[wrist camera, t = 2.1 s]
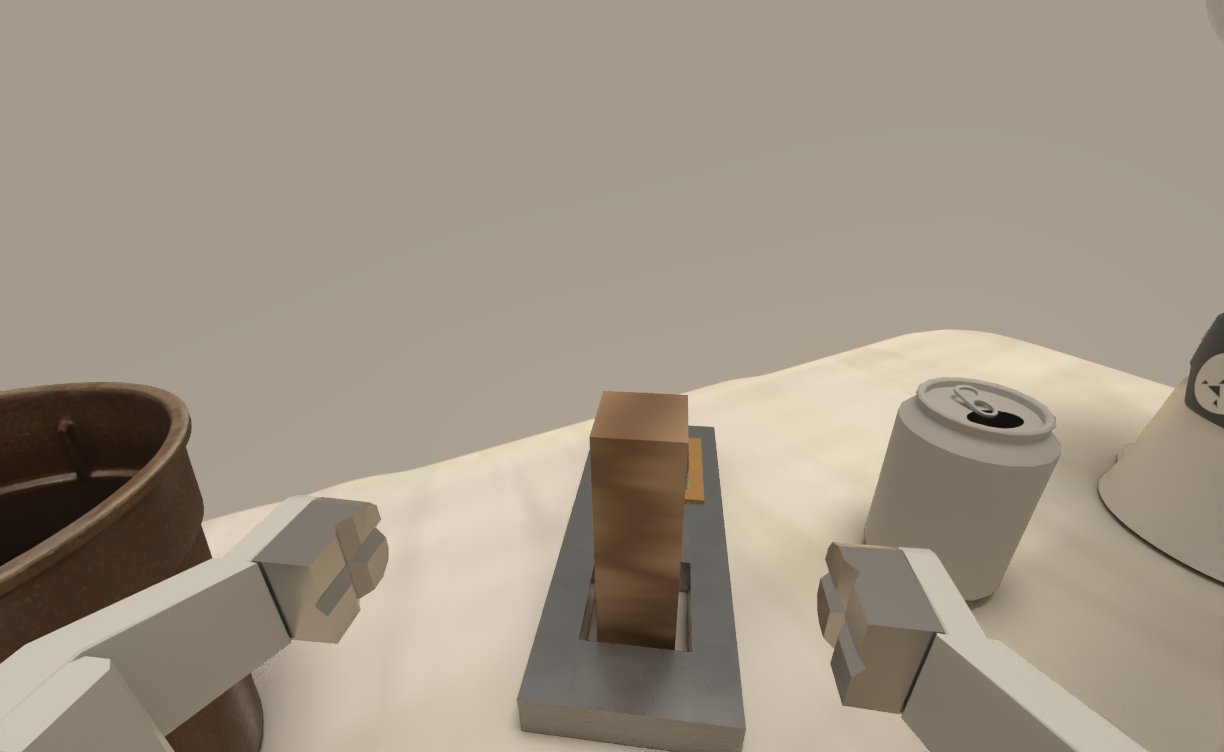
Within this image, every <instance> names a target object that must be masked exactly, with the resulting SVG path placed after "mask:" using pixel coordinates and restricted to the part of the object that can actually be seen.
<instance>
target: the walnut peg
mask: <svg viewBox="0 0 1224 752" xmlns="http://www.w3.org/2000/svg"><path fill="white" fill-rule="evenodd" d="M688 444H689V439H688V395H673V394H653V393H632V392H611V391H603V395H602V398H601V402H600V405H599V408H598V411H597V414H596V418H595V421H594V424H593V428H592V431H591V434H590V458H591V484H592V510H593V537H594V563H595V589H596V615H597V641H598V642H604V643H613V644H622V645H631V646H640V647H649V648H658V649H667V650H675V637H676V622H677V607H678V592H679V578H680V563H681V548H682V533H683V518H684V503H685V488H686V474H687V459H688Z"/></svg>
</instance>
